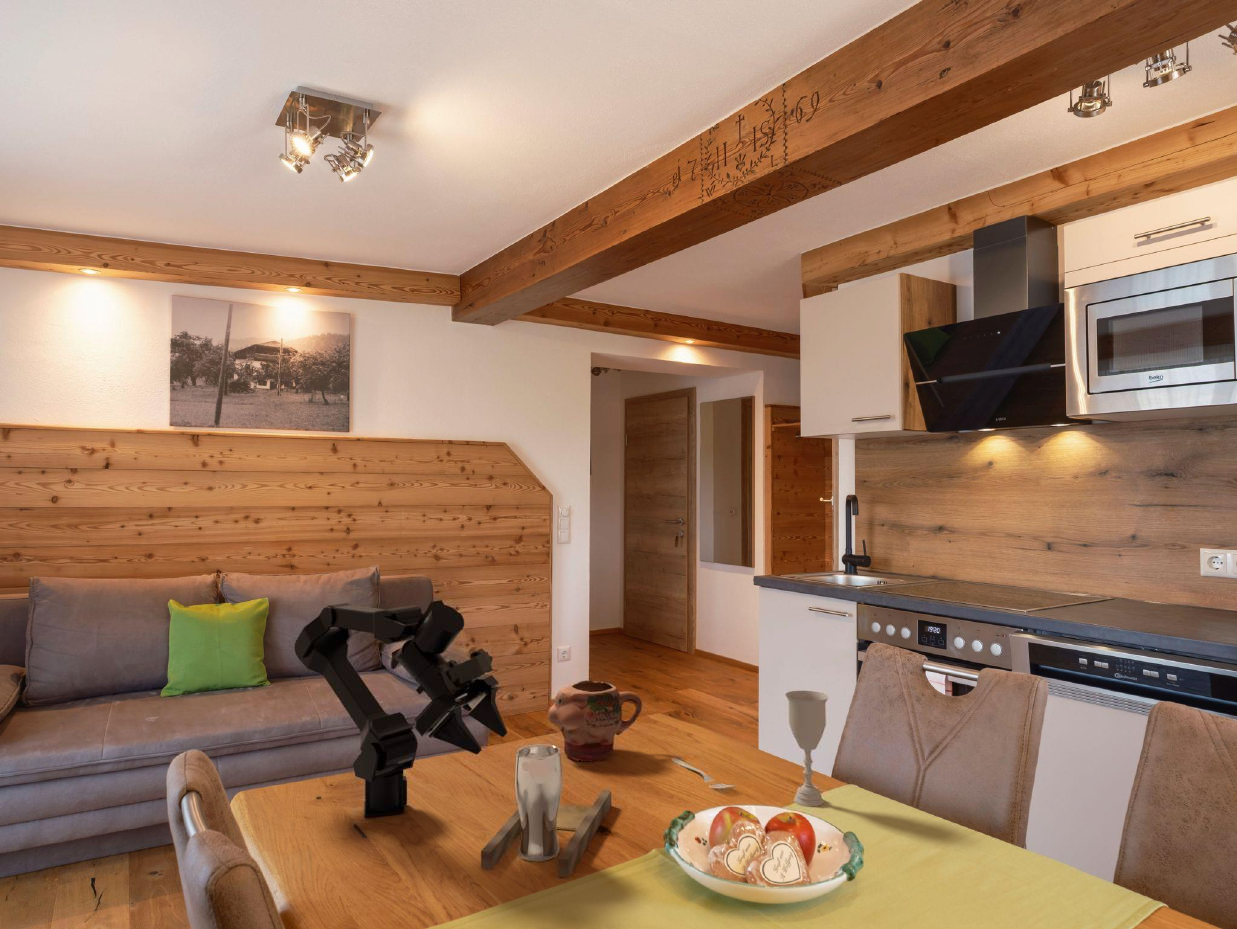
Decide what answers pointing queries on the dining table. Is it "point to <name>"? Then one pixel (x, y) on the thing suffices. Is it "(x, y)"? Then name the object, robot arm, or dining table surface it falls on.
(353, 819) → the dining table surface
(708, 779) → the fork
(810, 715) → the chalice
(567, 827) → the tan square coaster
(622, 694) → the sculpted ceramic mug
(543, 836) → the beer glass
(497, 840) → the channel
